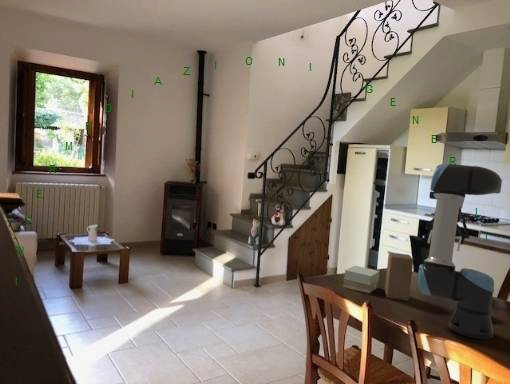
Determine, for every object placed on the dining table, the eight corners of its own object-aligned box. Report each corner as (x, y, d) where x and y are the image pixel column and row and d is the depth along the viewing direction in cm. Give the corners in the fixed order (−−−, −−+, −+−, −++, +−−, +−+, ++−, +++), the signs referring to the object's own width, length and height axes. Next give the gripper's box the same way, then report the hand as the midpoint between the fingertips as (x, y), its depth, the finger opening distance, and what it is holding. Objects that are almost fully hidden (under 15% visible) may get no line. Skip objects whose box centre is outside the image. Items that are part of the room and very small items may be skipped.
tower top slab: (370, 285, 197) (371, 276, 197) (344, 278, 204) (345, 270, 204) (378, 279, 208) (379, 271, 208) (353, 273, 215) (354, 265, 215)
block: (409, 301, 190) (413, 259, 188) (386, 298, 192) (391, 256, 190) (405, 295, 200) (410, 254, 198) (384, 292, 202) (388, 251, 200)
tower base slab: (368, 294, 198) (369, 285, 197) (343, 287, 205) (344, 278, 205) (377, 288, 209) (378, 279, 208) (352, 282, 216) (353, 273, 215)
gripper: (480, 215, 206) (470, 255, 200) (428, 205, 219) (417, 242, 213) (481, 210, 200) (470, 251, 194) (427, 199, 213) (416, 237, 207)
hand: (442, 246), depth 204 cm, fingers open, 13 cm apart
